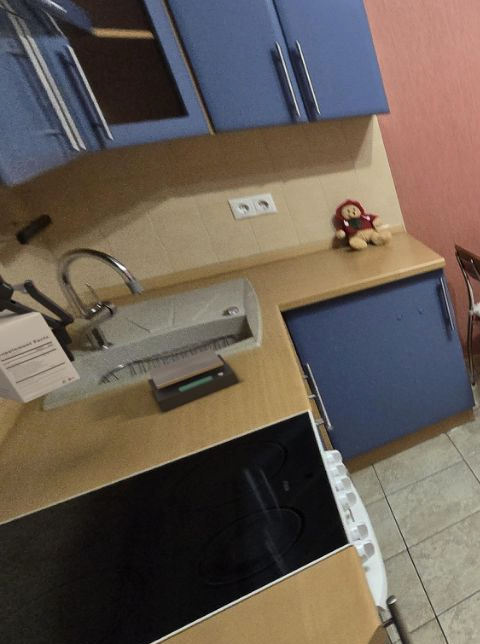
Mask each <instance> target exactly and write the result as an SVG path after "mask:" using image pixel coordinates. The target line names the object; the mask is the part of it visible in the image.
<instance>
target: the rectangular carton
mask: <svg viewBox="0 0 480 644" xmlns="http://www.w3.org/2000/svg"><path fill="white" fill-rule="evenodd" d="M39 312H40V311H38V312H31V313H27V314H23V315H20V314H18V313H15V312H12V311H9V310H7V309H5V310H3V312H0V398H1V399H5V400H9V401H12V402H16V403H17V402H18V403H20V404H27V403H29V402H31V401H33V400H36V399H39V398H40V397H42V396H45V395H47V394H49V393H51V392H54V391H55V390H58V389H60V388H62V387H64V386H66V385H69V384H71V383H73V382H75V381H78V380H80V379H81V376H80V374H79V373H78V371H77V370H76V369H75V367H74V365H73V363H72V362H70V360H69V359H68V357H67V356H66V354H65V352H64V351H63V349H62V347H61V346H60V344H59V342H58V341H57V339H56V338H55V336H54V334H53V333H52V331H51V329H52V328H50V327H49V326H48V325H47V323H46V321H45V320H44V318H43V316H42V315H41V313H42V312H40V313H39Z"/></svg>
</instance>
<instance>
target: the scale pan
mask: <svg viewBox="0 0 480 644" xmlns="http://www.w3.org/2000/svg"><path fill="white" fill-rule="evenodd" d="M217 355H218V354H216V352H215V351H214V350H213V348H209V349H207V350H203V351H201V352H198V353H195V354H192V355H190V356H189V355H188V356H186V357H183V358H181V359H178V360H175V361H173V362H170V363H166V364H164V365H160V366H158V367H155V368H153V369H152V368H151V369H149V370H148V372H149V375H150V377H151V379H153V381H154V383H155V385H156V387H157V389H160V388H163V387H166V386H168V385H171V384H174V383H176V382H179V381H182V380H184V379H187V378H190V377H192V376H195V375H198V374H200V373H203V372H206V371H208V370H211V369H214V368H216V367H219V366H222V365H224V364H223V362H222V361H221V360H220V358H219V357H218V356H217Z"/></svg>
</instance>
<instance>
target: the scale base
mask: <svg viewBox="0 0 480 644" xmlns="http://www.w3.org/2000/svg"><path fill="white" fill-rule="evenodd" d="M216 355H217V356H218V357H219V358H220V360H221V361H222V362H223V364H224V365H222V366H219V367H216V368H214V369H211V370H208V371H206V372H203V373H200V374H198V375H195V376H192V377H190V378H187V379H184V380H182V381H179V382H176V383H174V384H171V385H168V386H166V387H163V388H160V389H157V387H156V385H155V383H154V381H153V379H152V378H150V379H147V382H148V384H149V386H150V388H151V391H152V392H153V395H154V396H155V398H156V401H157V403H158V404H159V406H160V408H161V410H162V411H163V413H166V412H167V411H170V410H173V409H175V408H178V407H181V406H183V405H185V404H188V403H190V402H193V401H195V400H198V399H200V398H203V397H205V396H208V395H210V394H213V393H215V392H216V393H217V392H218V391H220V390H223V389H225V388H228V387H231V386H233V385H235V384H238V383H239V379H238V377H237V376H236V372H234V370H233V369H232V368H231V367H230V365H229V364H228V363H227V361H226V360H225V359H224V357H223V356H222V355H221V354H219V353H218V354H216Z"/></svg>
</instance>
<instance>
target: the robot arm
mask: <svg viewBox="0 0 480 644" xmlns="http://www.w3.org/2000/svg"><path fill="white" fill-rule="evenodd" d="M14 292H20V293H21V295H29V296H30V297H31V298H32V299H33V300H34V301H36V302H37V303H39V304H40V305H41V306H43V307H44V308H45V309H47V310H48V311H49V312H51V314H53V315H55V316H56V317H57V318H59V320H58V319H56V318H54V317H51V316H49V315H47V314H45V313H42V312H40V311H38V310H36V309H33V308H31V307H30V306H27V305H25V304H23V303H21V302H19V301H17V300H15V299H12V298H13V295H14ZM6 310H9V311H12V312H15V313H18V314H20V315H23V314H27V313H31V312H39V313H41V315H42V316H43V318H44V320H45V321H46V323H47V325H48V326H49V328H50V329H51V331H52V333H53V334H54V336H55V338H56V339H57V341H58V342H59V344H60V346H61V347H62V349H63V351H64V352H65V354H66V356H67V357H68V359H69V360H70V362H71V363H72V362H75V360H76V359H75V355H74V353H73V352H72V351H71V349H70V347H69V346H68V345H69V344H73V338H72V336H71V334H70V333H69V331H68V330H67V327H68V326H69V325H71V324H73V323H74V322H75V317H74V315H73V314H71V313H70V312H69V311H67V310H66V309H64V307H62V306H60V305H59V304H58V303H57V302H55V301H54V300H52V299H51V298H50V297H48V296H47V295H46V294H45V293H44V292H42V291H41V290H39V289H38V287H37V286H36V284H35V282H34V281H33V280H32V279H26V280H25V279H24V281H23V282H19V283H14V284H10V283H9V282H7V281H6V280H5V278H3V276H2V274H0V312H3V311H6Z"/></svg>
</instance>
